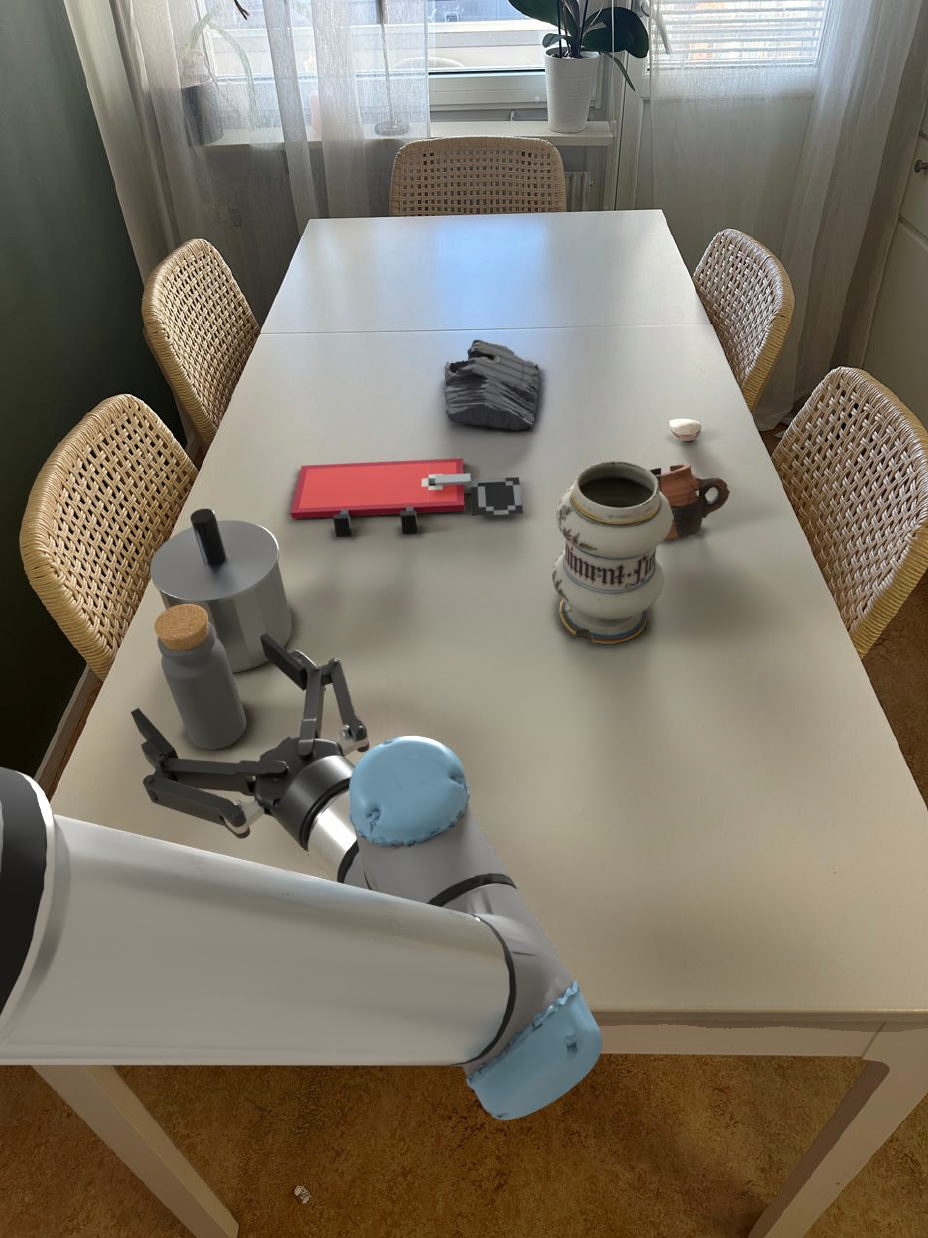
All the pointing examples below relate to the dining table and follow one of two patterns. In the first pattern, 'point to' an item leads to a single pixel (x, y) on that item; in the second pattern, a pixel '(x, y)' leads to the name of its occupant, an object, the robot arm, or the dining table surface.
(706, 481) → the pottery mug
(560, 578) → the apothecary jar
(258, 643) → the pot
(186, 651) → the bottle
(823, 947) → the dining table surface
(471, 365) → the dark slate chunk
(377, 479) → the red board with handle
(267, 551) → the pot lid
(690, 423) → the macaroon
